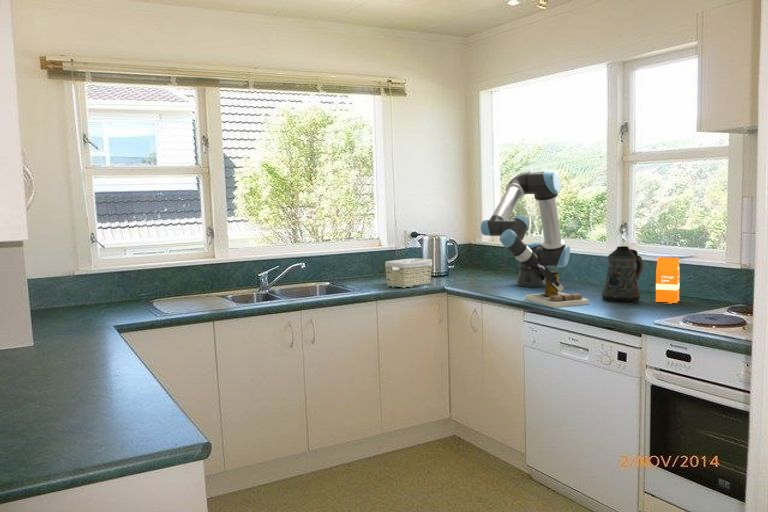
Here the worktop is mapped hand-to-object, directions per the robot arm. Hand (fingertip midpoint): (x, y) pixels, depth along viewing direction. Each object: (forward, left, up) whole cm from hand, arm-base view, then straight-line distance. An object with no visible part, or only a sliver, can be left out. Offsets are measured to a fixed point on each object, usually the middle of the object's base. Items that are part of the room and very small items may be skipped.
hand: (557, 288), depth 294 cm
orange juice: (+26, +40, -6) cm, 48 cm away
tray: (+4, -4, -6) cm, 8 cm away
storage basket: (-79, -45, -6) cm, 92 cm away
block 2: (+12, -4, -5) cm, 13 cm away
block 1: (+12, -9, -5) cm, 16 cm away
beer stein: (+13, +25, -6) cm, 29 cm away
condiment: (-1, -4, -4) cm, 5 cm away
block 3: (+12, +1, -5) cm, 13 cm away
